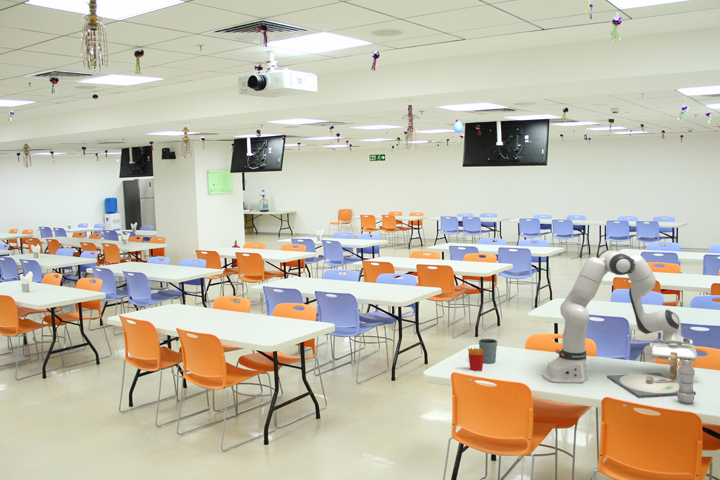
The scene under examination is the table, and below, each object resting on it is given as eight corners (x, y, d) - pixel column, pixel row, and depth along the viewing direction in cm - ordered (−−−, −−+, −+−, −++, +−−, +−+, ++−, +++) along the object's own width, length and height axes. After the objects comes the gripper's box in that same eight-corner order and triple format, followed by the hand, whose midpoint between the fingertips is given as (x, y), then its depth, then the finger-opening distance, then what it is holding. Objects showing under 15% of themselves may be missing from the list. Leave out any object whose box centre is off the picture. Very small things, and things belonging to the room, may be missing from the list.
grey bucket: (476, 362, 321) (475, 341, 320) (483, 357, 329) (483, 337, 328) (493, 365, 315) (493, 344, 314) (499, 360, 323) (499, 339, 322)
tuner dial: (638, 398, 263) (638, 394, 263) (607, 377, 291) (607, 374, 291) (695, 394, 265) (695, 391, 265) (659, 374, 293) (659, 371, 293)
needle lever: (648, 383, 276) (648, 355, 275) (644, 381, 279) (645, 353, 278) (678, 382, 277) (678, 353, 276) (674, 379, 280) (674, 352, 279)
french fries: (484, 369, 309) (484, 347, 307) (483, 371, 305) (483, 349, 304) (468, 367, 312) (468, 346, 310) (467, 370, 308) (467, 348, 307)
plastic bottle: (692, 406, 252) (693, 362, 250) (675, 402, 257) (676, 359, 255) (695, 401, 257) (697, 358, 255) (678, 398, 261) (680, 356, 259)
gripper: (650, 337, 289) (651, 362, 281) (696, 340, 281) (698, 366, 274) (649, 343, 294) (650, 367, 286) (694, 346, 286) (697, 372, 278)
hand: (674, 367), depth 280 cm, fingers closed
